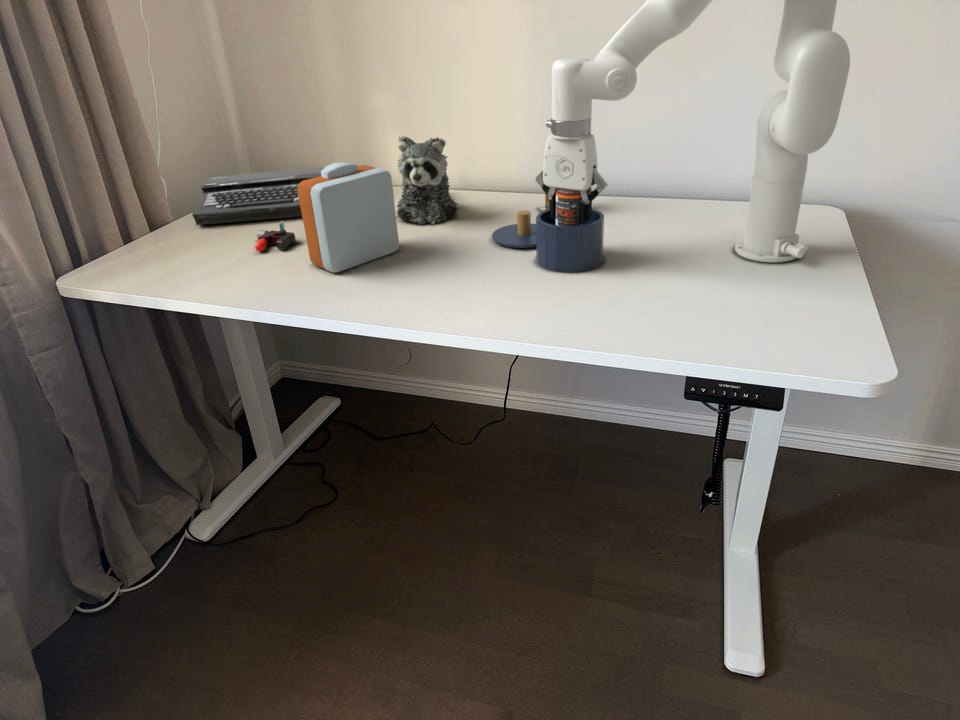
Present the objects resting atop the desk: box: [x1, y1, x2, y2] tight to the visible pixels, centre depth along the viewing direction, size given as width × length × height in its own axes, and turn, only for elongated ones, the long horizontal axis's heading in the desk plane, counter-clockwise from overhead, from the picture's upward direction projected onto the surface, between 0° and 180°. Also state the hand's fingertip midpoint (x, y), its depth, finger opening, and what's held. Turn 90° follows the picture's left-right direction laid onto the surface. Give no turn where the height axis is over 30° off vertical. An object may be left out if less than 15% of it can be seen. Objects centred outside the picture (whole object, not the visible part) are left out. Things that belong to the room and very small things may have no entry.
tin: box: [535, 208, 605, 273], centre depth 144 cm, size 14×14×10 cm
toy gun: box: [254, 220, 297, 253], centre depth 163 cm, size 10×12×5 cm
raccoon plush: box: [396, 136, 459, 226], centre depth 176 cm, size 15×32×21 cm, turn 14°
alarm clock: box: [297, 161, 400, 274], centre depth 149 cm, size 18×9×21 cm, turn 134°
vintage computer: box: [191, 164, 359, 226], centre depth 190 cm, size 43×29×8 cm
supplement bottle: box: [556, 188, 585, 226], centre depth 140 cm, size 6×6×11 cm
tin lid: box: [491, 210, 536, 249], centre depth 158 cm, size 15×15×6 cm
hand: (570, 218), depth 142 cm, fingers closed on supplement bottle, 6 cm apart
